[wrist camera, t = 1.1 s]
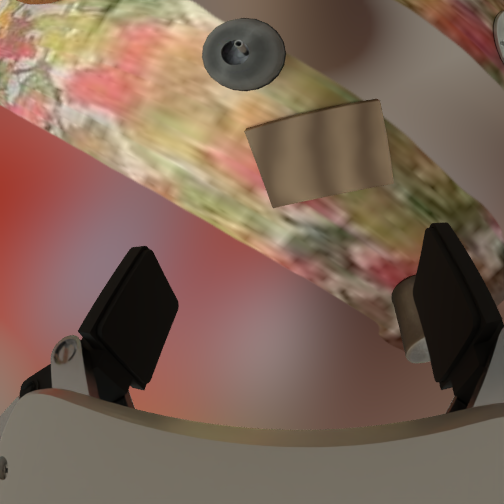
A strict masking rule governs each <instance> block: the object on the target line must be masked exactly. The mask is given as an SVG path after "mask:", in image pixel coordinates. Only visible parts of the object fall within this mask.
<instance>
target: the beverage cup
mask: <svg viewBox="0 0 504 504" xmlns="http://www.w3.org/2000/svg"><path fill="white" fill-rule="evenodd" d="M285 57H286V51H285V46H284V42H283V40H282V38H281V37H280V35H279V34H278V32H277V31H276V30H274V29H273V28H272V27H271V26H270V25H269V24H267V23H265V22H262V21H259V20H257V19H249V18H240V19H235V20H231V21H227V22H225V23H223V24H221V25H220V26H218V27H216V28H215V29H214V30H213V31H212V32H211V33H210V34H209V35H208V37H207V39H206V41H205V43H204V46H203V53H202V59H203V63H204V67H205V69H206V70H207V72H208V73H209V75H210V76H211V77H212V78H213V79H214V80H215V81H217V82H218V83H219V84H221V85H222V86H225V87H227V88H230V89H232V90H239V91H250V90H256V89H259V88H262V87H264V86H266V85H268V84H270V83H271V82H272V81H273V80H274V79H275V78H276V77H277V76H278V75H279V73H280V72H281V70H282V68H283V66H284V63H285Z"/></svg>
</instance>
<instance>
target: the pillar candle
mask: <svg viewBox="0 0 504 504" xmlns="http://www.w3.org/2000/svg"><path fill="white" fill-rule="evenodd" d="M415 278H416V275H415V276H411V277H409V278H407V279H405V280H404V281H402V282H401V283H400V284H398V285H397V286H396V288H395V289H394V291H393V293H392V302H393V304H394V307H395V312H396V315H397V320H398V324H399V328H400V333H401V337H402V341H403V346H404V350H405V355H406V358H407V360H408V361H410V362H412V363H424V362H428V361H431V360H430V356H429V352H428V348H427V344H426V340H425V336H424V333H423V329H422V325H421V322H420V318H419V315H418V312H417V308H416V305H415V302H414V299H413V286H414V282H415Z"/></svg>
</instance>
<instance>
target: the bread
mask: <svg viewBox="0 0 504 504" xmlns="http://www.w3.org/2000/svg"><path fill="white" fill-rule="evenodd" d="M17 1H20V2H23V3H26V4H48V3H53V2H56V1H58V0H17Z"/></svg>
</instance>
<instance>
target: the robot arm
mask: <svg viewBox="0 0 504 504" xmlns="http://www.w3.org/2000/svg"><path fill="white" fill-rule="evenodd" d="M494 38H495V43H496V46H497V49H498V52H499V55H500V57H501V59H502V61H503V63H504V11H502V12H500V13H499V14H498V15H497V17H496V18H495V22H494ZM413 299H414V302H415V305H416V308H417V312H418V315H419V318H420V322H421V325H422V329H423V333H424V336H425V340H426V344H427V348H428V352H429V356H430V360H431V365H432V369H433V374H434V378H435V381H436V382H439V383H440V388H441V390H443V389H447V388H451V387H453V391H454V395H455V396H454V398H453V400H452V402H451V404H450V406H449V408H448V409H447V411H446V413H445V414H442V415H438V416H433V417H428V418H422V419H417V420H411V421H405V422H399V423H393V424H385V425H376V426H367V427H357V428H344V429H325V430H280V429H259V428H245V427H234V426H224V425H216V424H209V423H202V422H195V421H189V420H184V419H178V418H173V417H168V416H163V415H158V414H154V413H149V412H145V411H141V410H137V409H135V408H134V405H133V402H132V399H131V396H130V393H129V390H128V389H129V386H131V387H132V388H136V389H141V390H144V389H145V387H146V384H147V383H149V382H150V380H151V378H152V375H153V372H154V370H155V367H156V364H157V362H158V359H159V357H160V354H161V351H162V349H163V346H164V344H165V341H166V338H167V336H168V333H169V331H170V328H171V325H172V323H173V321H174V318H175V316H176V313H177V311H178V300H177V298H176V296H175V294H174V293H173V291H172V289H171V287H170V285H169V283H168V281H167V279H166V277H165V275H164V273H163V271H162V269H161V267H160V265H159V263H158V261H157V259H156V257H155V255H154V253H153V251H152V250H150V249H149V248H148V247H147V246H141V247H133V248H131V249H130V250H129V251H128V253H127V254H126V256H125V257H124V259H123V260H122V262H121V263H120V264H119V266H118V267H117V269H116V271H115V272H114V274H113V275H112V276H111V278H110V280H109V281H108V283H107V284H106V286H105V287H104V289H103V290H102V292H101V293H100V295H99V297H98V298H97V300H96V302H95V303H94V305H93V306H92V308H91V310H90V312H89V313H88V315H87V316H86V318H85V320H84V321H83V323H82V325H81V327H80V328H79V330H78V332H79V333H80V334H81V335H82V337H83V338H82V340H80V339H79V338H78V337H77V336H74V335H70V336H67V337H64V338H63V339H62V340H61V341H59V342H58V343H57V344H56V346H55V347H54V349H53V351H52V354H51V364H50V365H48V366H47V367H45V368H43V369H42V370H40V371H39V372H37V373H35V374H34V375H32V376H31V377H29V378H28V379H27V380H25V381H24V382H23V384H22V386H21V390H20V397H17V398H16V399H15V400H14V401H13V403H12V404H11V405H10V406H9V407H8V408H7V409H6V410H5V411H4V413H3V414H2V415H1V416H0V504H504V324H503V322H502V317H501V315H500V313H499V311H498V309H497V307H496V304H495V302H494V300H493V298H492V296H491V294H490V292H489V290H488V288H487V286H486V284H485V283H484V281H483V279H482V277H481V275H480V273H479V272H478V270H477V268H476V266H475V265H474V263H473V261H472V259H471V258H470V256H469V254H468V253H467V251H466V249H465V248H464V246H463V245H462V243H461V242H460V240H459V238H458V237H457V235H456V234H455V232H454V231H453V229H452V228H451V226H450V225H449V224H448V223H432V224H431V225H430V228H427V229H426V230H425V235H424V240H423V246H422V251H421V256H420V261H419V265H418V270H417V274H416V278H415V282H414V286H413Z"/></svg>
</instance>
